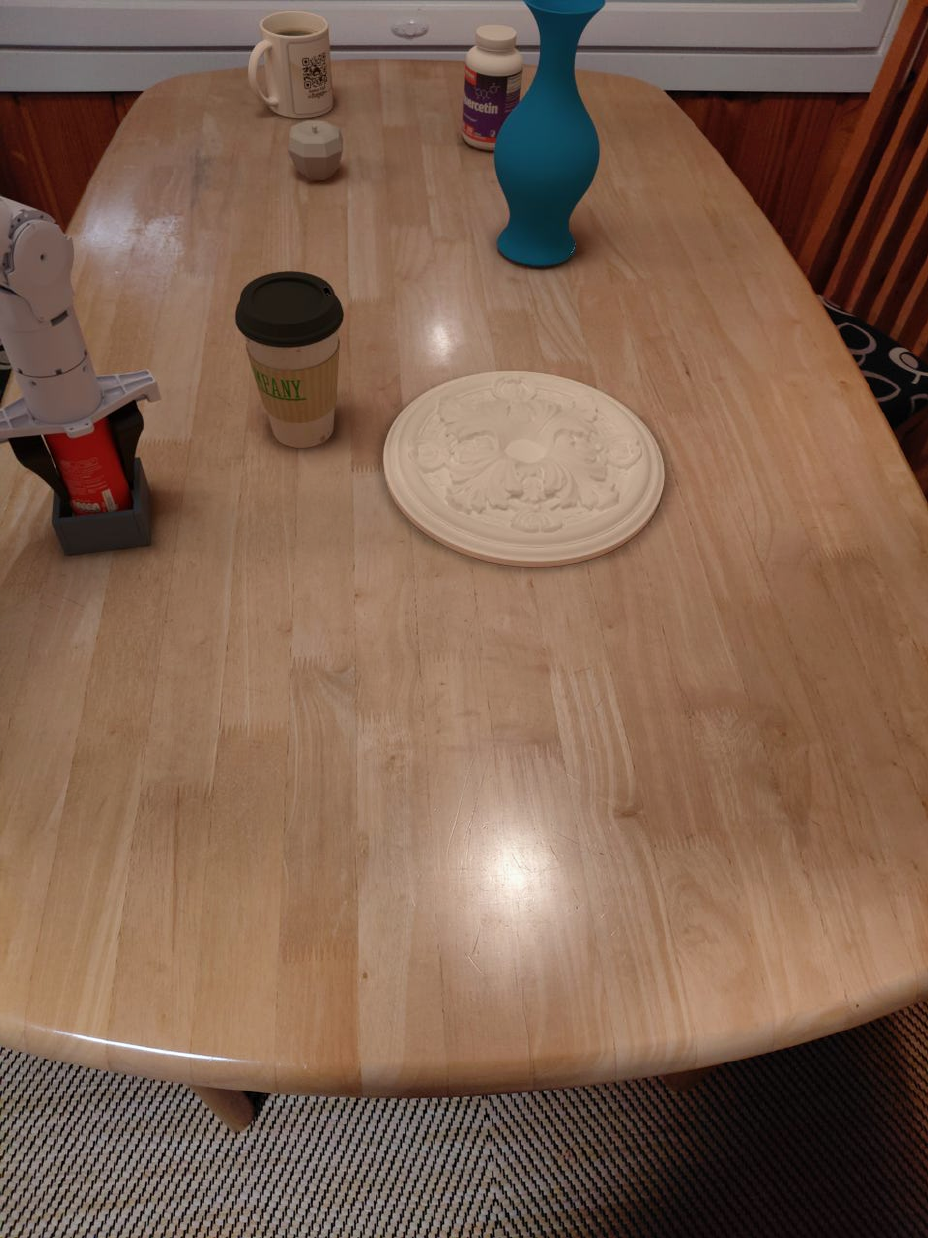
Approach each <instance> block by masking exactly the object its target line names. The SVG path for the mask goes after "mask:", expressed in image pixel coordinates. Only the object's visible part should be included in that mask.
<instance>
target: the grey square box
mask: <svg viewBox="0 0 928 1238" xmlns="http://www.w3.org/2000/svg"><path fill="white" fill-rule="evenodd" d="M56 471H57V469H56ZM57 473H58V472H57ZM58 475H59V474H58ZM126 480H127V479H126ZM127 483H128V486H129V489H130V492H131V495H132V498H133V508H132V509H131V510H123V511H115V512H106V513H98V514H89V515H81V516H75V514H74V512H73V509H72V507H71V504H70V502H67V503H64V504H63V503H62V502H61V500H60V498H59V496H58V495H57V494H56V492H55V491H54V490H53V500H52V511H51V512H52V513H51V514H52V515H51V526H52V528H53V530H54V533H55V535H56V537H57V540H58V542H59V544H60V546H61V549H62V551H63V553H64V556H73V555H80V554H89V553H98V552H105V551H113V550H120V549H127V548H128V549H130V548H137V547H145V546H151V543H152V542H151V541H152V540H151V539H152V538H151V489H150V486H149V483H148V479H147V476H146V473H145V470H144V466H143V463H142V460H141V457H140V456H135V480H132V481H129V482H128V481H127Z"/></svg>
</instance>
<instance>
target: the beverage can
mask: <svg viewBox="0 0 928 1238" xmlns="http://www.w3.org/2000/svg"><path fill="white" fill-rule="evenodd" d="M93 426H94V431H93V432H92V433H89V434H86V435H83V436H80V437H77V438H70V437H68V435H67V434H66V433H55V434H44V435H42V437H43V440H44V442H45V445H46V447H47V449H48V451H49V453H50V455H51V457H52V460H53V463H54V466H55V468H56V469H57V472H58V474H59V477H60V479H61V481H62V483H63V485H64V487H65V489H66V491H67V493H68V495H69V498H70V504H71V507H72V509H73V512H74V514H75V516H81V515H89V514H98V513H106V512H115V511H123V510H131V509H132V508H133V498H132V495H131V492H130V489H129V486H128V483H127V480H126V477H125V473H124V470H123V467H122V464H121V461H120V458H119V455H118V452H117V449H116V445H115V442H114V439H113V436H112V433H111V430H110V427H109V424H108V421H107V418H106V416H105V417H103V418H102V419H100V420H98V421H97V422H95V423H93Z"/></svg>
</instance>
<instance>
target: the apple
mask: <svg viewBox="0 0 928 1238" xmlns="http://www.w3.org/2000/svg"><path fill="white" fill-rule="evenodd" d="M287 151H288V153H289V157H290V159H291V161H292V164H293V166H294V167H295V168H296V170H297V171H298V173H299V174H300V175H302V176H303V177H304V178H307V179H308V180H311V181H325V180H327V179H329V178H331V177H332V176H334V175H335V174H336V172H337V170H338V168H339V166H340V164H341V160H342V155H343V153H344V137H343V134H342V132H341V129H340V127H339V126H338V125H335V124H333V123H331V122H329V121H326V120H319V119H315V120H313V119H312V120H311V119H309V120H308V119H305V120H304V121H301V122H299V123H297V124H294V125H292V126H291V127H290V130H289V136H288V144H287Z"/></svg>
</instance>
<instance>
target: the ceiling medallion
mask: <svg viewBox="0 0 928 1238" xmlns="http://www.w3.org/2000/svg"><path fill="white" fill-rule="evenodd" d="M382 458H383V459H382V461H383V474H384V475H383V476H384V479H385V483H386V486H387V489H388V491H389V494H390V496H391V498H392V500H393V501H394V503H395V504H396V506H397V507H398V509H399V510H400V511H401V512H402V514H403V515H404V516H405V517H406V518H407V519H408V520H409V522H410V523H411V524H413V525H414V526H415V527H416V528H417V529H418V530H420V531H421V532H422V533H424V534H425V535H426V536H428V537H429V538H431V539H432V540H434V541H435V542H437V543H439V544H441V545H442V546H444V547H446V548H448V549H450V550H453V551H455V552H457V553H460V554H462V555H465V556H467V557H471V558H473V559H477V560H480V561H484V562H489V563H492V564H498V565H504V566H509V567H510V566H511V567H522V568H549V567H551V568H552V567H560V566H568V565H573V564H577V563H582V562H586V561H588V560H592V559H595V558H598V557H601V556H603V555H606V554H608V553H610V552H611V551H614V550H617V549H618V548H620V547H621V546H623V545H624V544H626V543H627V542H629V541H630V540H632V539H633V538H634V537H635V536H636V535H638V534H639V533H640V532H641V531H642V530H643V529H644V527H645V526H646V525H648V523H649V522H650V521H651V519H652V517H653V516H654V514H655V513H656V511H657V508H658V506H659V504H660V501H661V499H662V498H661V497H662V495H663V491H664V486H665V480H666V479H665V478H666V477H665V464H664V460H663V455H662V452H661V449H660V446H659V444H658V442H657V440H656V439H655V436H654V435H653V434H652V432H651V430H650V429H649V428H648V427H647V426H646V424H645V423H644V422H643V421H642V419H640V417H638V416H637V414H635V413H634V412H633V411H632V410H631V409H629V408H628V407H627V406H626V405H624V404H623V403H622V402H620V401H618V400H617V399H616V398H614V397H612V396H610V395H609V394H608V393H607V394H606V393H605V392H603V391H601V390H599V389H597V388H595V387H593V386H590V385H588V384H585V383H582V382H580V381H578V380H574V379H571V378H567V377H564V376H560V375H554V374H550V373H544V372H538V371H537V372H535V371H529V370H527V371H525V370H496V371H487V372H480V373H479V372H478V373H475V374H469V375H465V376H461V377H458V378H454V379H452V380H448V381H446V382H444V383H443V382H442V383H441V384H438V385H437V386H434V387H432V388H431V389H429V390H427V391H426V392H424V393H422V394H421V395H418V397H416V398H415V399H414V400H413V401H411V402H410V403H409V404H408V405H407V406H406V407H404V409H403V410H401V412H400V413H399V414H398V416H397V417H396V418H395V420H394V422H393V423H392V425H391V426H390V428H389V431H388V432H387V435H386V438H385V442H384V446H383V456H382Z"/></svg>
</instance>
